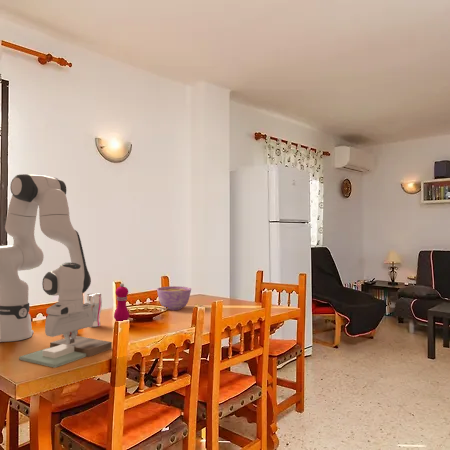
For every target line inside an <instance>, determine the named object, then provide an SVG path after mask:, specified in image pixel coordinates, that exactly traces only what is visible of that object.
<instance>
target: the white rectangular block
mask: <svg viewBox="0 0 450 450" xmlns="http://www.w3.org/2000/svg"><path fill="white" fill-rule="evenodd" d="M47 348H48V349H46V348H44V349H45V350H43V349H42V350H43V356H46V357H50V358H57V357H60V356H63V355H66V354H69V353H72V352H74V346H70V345H65V344H61V345H58V346H55V347H52V348H50V347H47Z"/></svg>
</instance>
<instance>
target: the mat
mask: <svg viewBox="0 0 450 450" xmlns="http://www.w3.org/2000/svg"><path fill="white" fill-rule="evenodd" d="M48 348H52V347H50V346H49V347H47V348H44V349H40V350H37V351H34V352H30V353H27V354H23V355H20V356H19V357H18V359H19V360H21V361H24V362H28V363H32V364H36V365H37V364H38V365H42V366H45V367H50V368H55V369H56V368H59V367H62V366H63V365H67V364H70V363H72V362H76V361H78V360H80V359H84V358H86V357H87V356H86V355H87V354H85V353H80V352H75V351H74V352H72V353H69V354H66V355H63V356H60V357H57V358H50V357H46V356H43V350H45V349H48Z"/></svg>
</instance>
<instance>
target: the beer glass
mask: <svg viewBox="0 0 450 450" xmlns="http://www.w3.org/2000/svg"><path fill="white" fill-rule="evenodd" d="M86 303H89V304H91V306H92V312H93V325H92V326H90V327H89V328H99V327H100V326H101V319H100V318H101V312H102V306H103V305H102V303H103V297H102V293H96V292H95V293H93V292H92V293H88V294H86Z"/></svg>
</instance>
